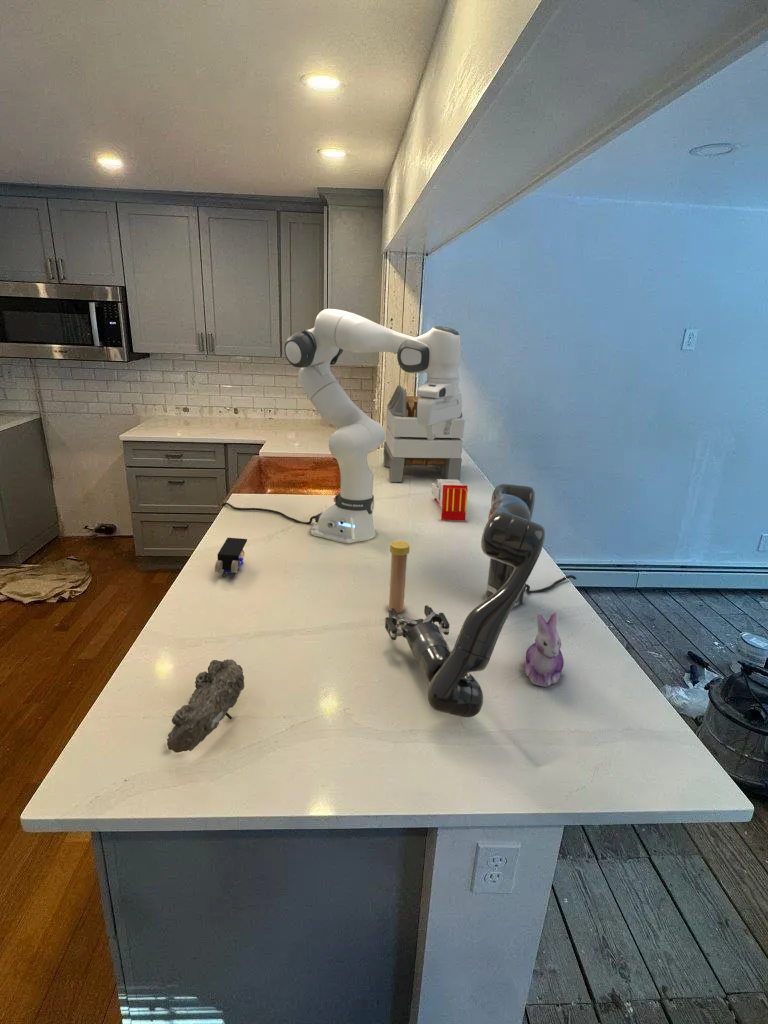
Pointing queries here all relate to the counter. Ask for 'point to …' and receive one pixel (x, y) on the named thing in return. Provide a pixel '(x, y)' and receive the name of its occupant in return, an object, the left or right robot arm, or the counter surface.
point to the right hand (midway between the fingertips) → (408, 610)
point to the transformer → (419, 440)
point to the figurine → (545, 653)
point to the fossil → (206, 705)
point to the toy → (451, 498)
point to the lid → (399, 548)
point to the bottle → (397, 582)
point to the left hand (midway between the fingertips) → (438, 436)
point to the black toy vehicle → (230, 556)
